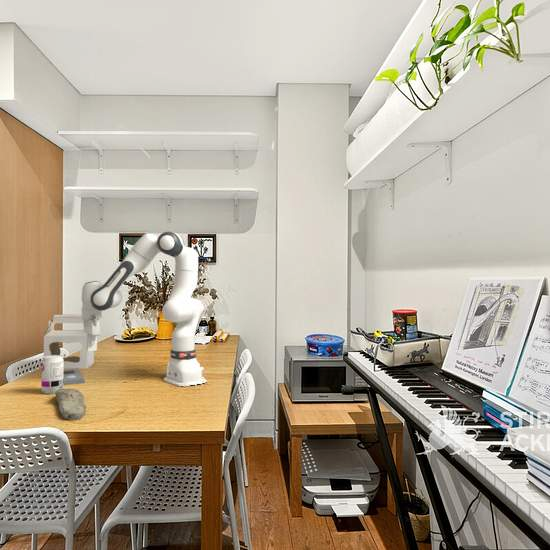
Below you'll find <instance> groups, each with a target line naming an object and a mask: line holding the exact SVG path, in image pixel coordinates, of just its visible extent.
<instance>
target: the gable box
mask: <svg viewBox="0 0 550 550" xmlns="http://www.w3.org/2000/svg"><path fill="white" fill-rule="evenodd" d="M56 324H83V319H82V314H54V316H53V318H52V320H48V327H47V329H46V331H45V333H44V335H43V358H44V357H45V356H50V355H61V347H60V345H59V343H64V344H75V343H79V344H81V346H82V347H81V349H80V352H79V356H76V355H75V356H74V355H71V356H68V357H62V358H63V359H64V369H63V370H71V369H77V370H79V369H80V370H83V369H88V368H90V367H91V366H92V365H93V364H94V363H95V351H87V346H86V334H87V333H86V332H85V331H84V329H65V330H64V329H59V330H58V329H55V325H56Z"/></svg>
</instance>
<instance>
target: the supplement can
mask: <svg viewBox="0 0 550 550" xmlns="http://www.w3.org/2000/svg"><path fill="white" fill-rule="evenodd" d="M63 358H64V357H63V356H62V355H61V354H60V355H50V356H45V357H44V356H43V358H42V360H41V393H42V394H45V395H55V392H56V391H57V390H58V389H59V390H60V389H62V388H63V389H64V385H63V370H65V369H64V359H63Z"/></svg>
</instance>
